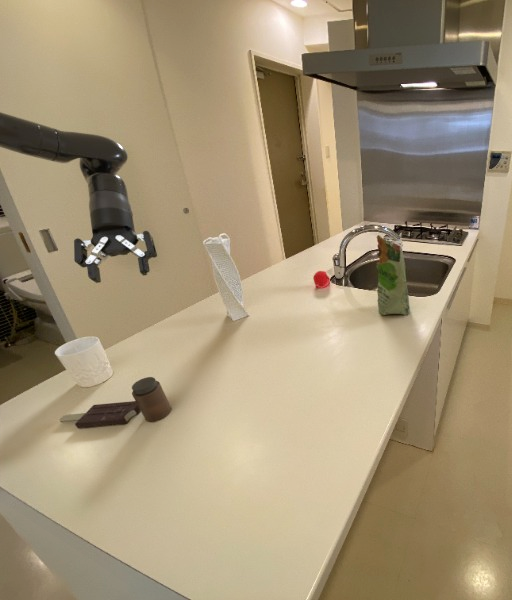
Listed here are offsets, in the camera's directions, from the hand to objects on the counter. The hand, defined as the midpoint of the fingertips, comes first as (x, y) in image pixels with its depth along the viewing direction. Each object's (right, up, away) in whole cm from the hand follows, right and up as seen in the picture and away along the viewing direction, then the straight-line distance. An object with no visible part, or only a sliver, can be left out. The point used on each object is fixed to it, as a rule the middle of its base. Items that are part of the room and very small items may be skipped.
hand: (120, 277), depth 72 cm
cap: (+32, 0, +55) cm, 64 cm away
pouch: (+60, -9, +36) cm, 71 cm away
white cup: (-14, -25, +9) cm, 30 cm away
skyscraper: (+9, -10, +36) cm, 38 cm away
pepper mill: (+10, -30, -2) cm, 31 cm away
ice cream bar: (-2, -31, -3) cm, 31 cm away
